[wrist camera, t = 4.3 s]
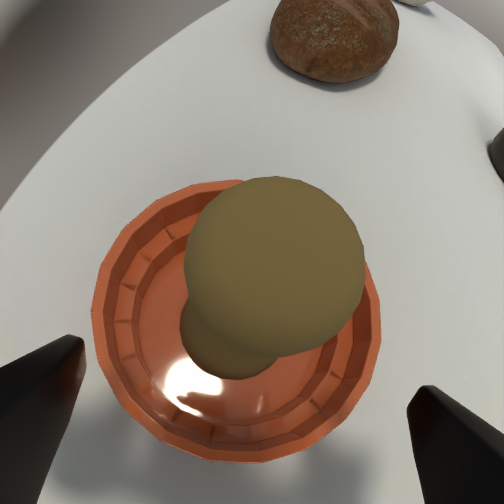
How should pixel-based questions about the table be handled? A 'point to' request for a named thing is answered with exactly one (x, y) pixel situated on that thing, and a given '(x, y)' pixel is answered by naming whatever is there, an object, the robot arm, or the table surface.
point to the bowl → (191, 375)
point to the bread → (335, 37)
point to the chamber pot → (414, 2)
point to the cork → (268, 276)
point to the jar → (498, 153)
